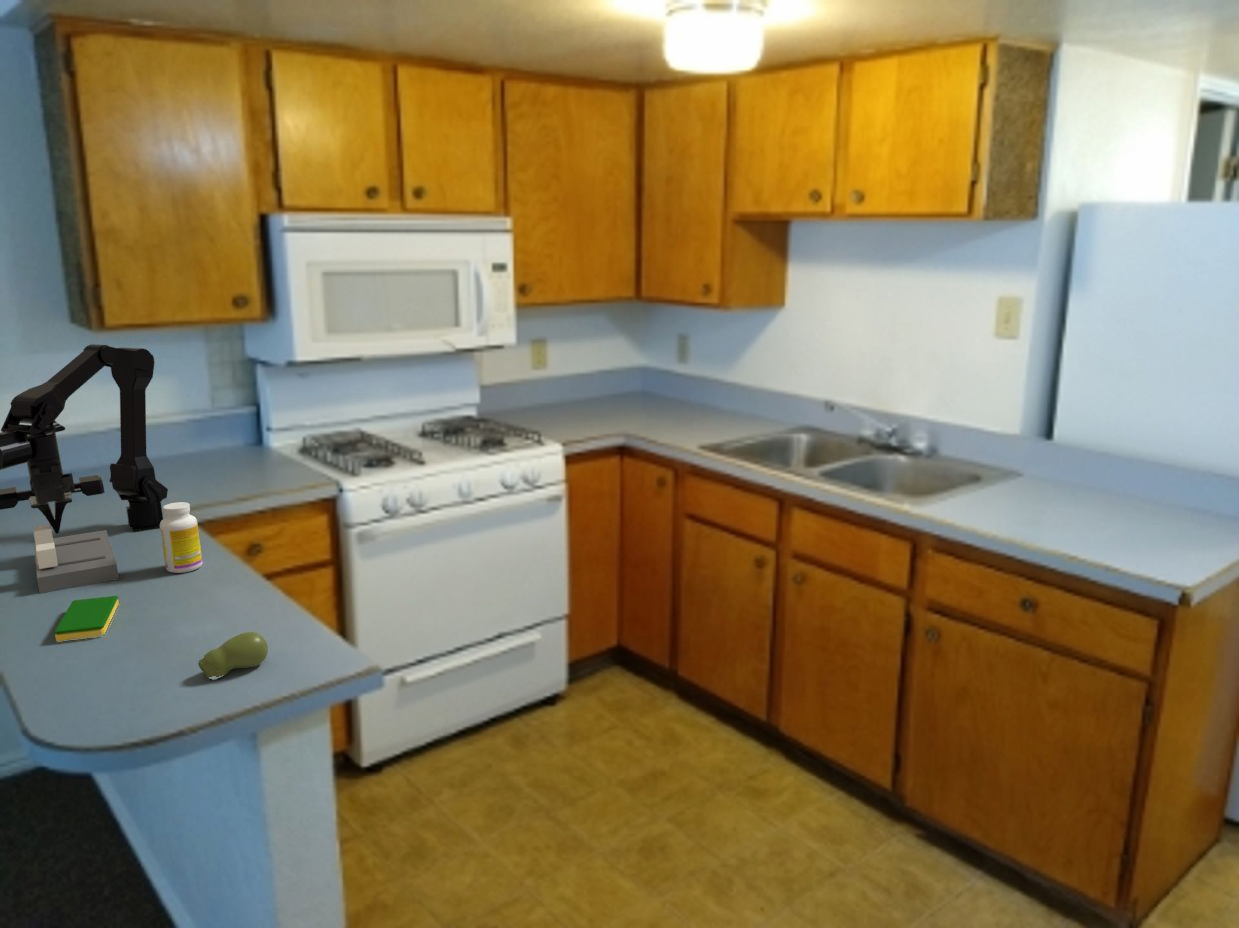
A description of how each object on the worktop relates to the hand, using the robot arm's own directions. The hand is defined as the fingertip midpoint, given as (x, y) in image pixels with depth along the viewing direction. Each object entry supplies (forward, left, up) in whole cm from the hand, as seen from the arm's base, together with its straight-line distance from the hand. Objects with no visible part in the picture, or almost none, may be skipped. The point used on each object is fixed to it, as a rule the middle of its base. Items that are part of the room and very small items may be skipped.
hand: (57, 533), depth 190 cm
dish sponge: (-3, +38, -6) cm, 39 cm away
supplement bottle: (-20, +19, -6) cm, 28 cm away
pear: (-20, +70, -6) cm, 73 cm away
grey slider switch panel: (-2, +6, -6) cm, 9 cm away
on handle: (+2, +13, -2) cm, 13 cm away
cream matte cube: (+2, 0, -2) cm, 3 cm away
